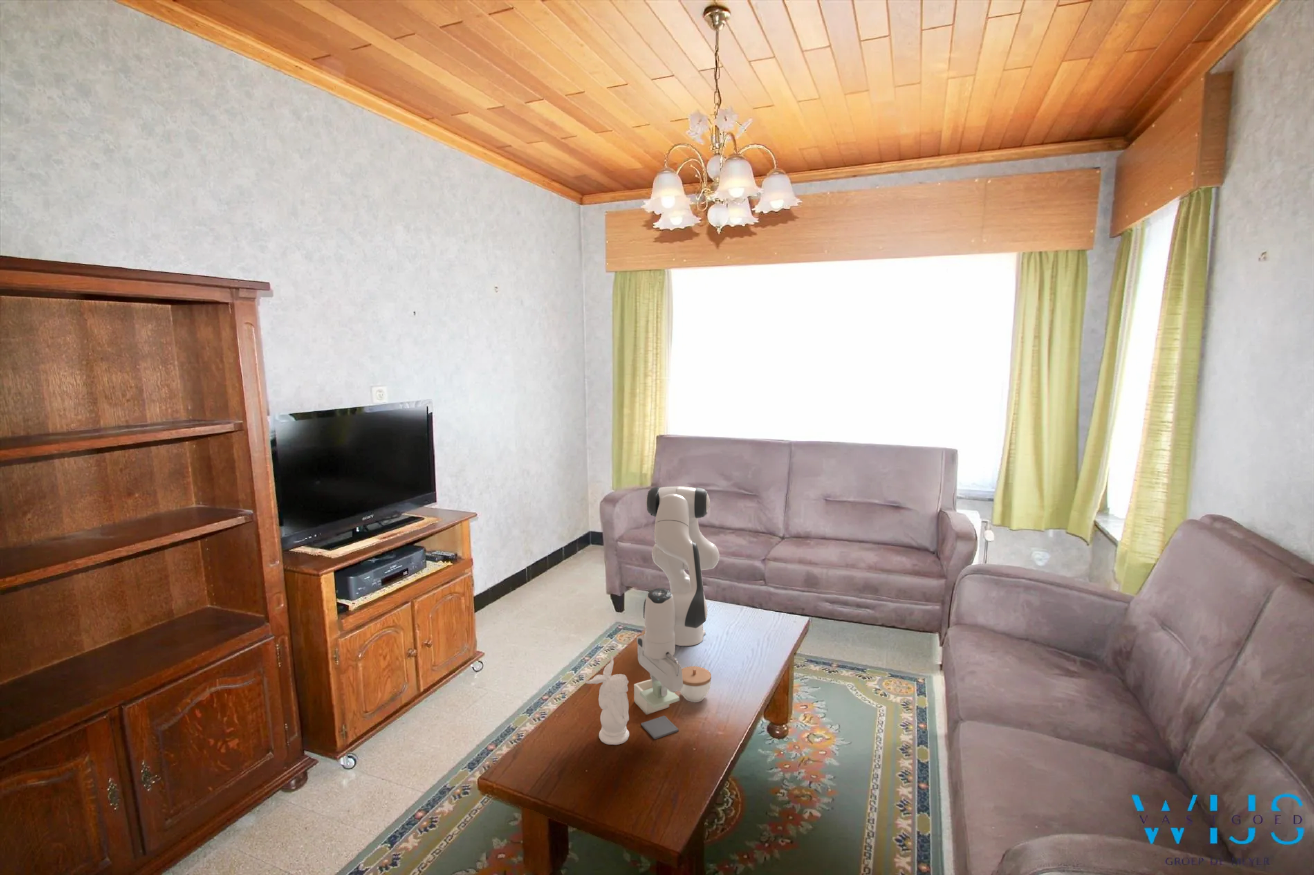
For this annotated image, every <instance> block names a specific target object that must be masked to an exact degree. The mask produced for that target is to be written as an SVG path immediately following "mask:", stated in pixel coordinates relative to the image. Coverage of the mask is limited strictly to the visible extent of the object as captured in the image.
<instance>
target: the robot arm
mask: <svg viewBox="0 0 1314 875" xmlns="http://www.w3.org/2000/svg"><path fill="white" fill-rule="evenodd" d="M710 506H711V499H710V496H709V493H708V491H707V490H706V489H705V488H702V487H698V486H697V487H691V486H683V485H678V486H663V487H662V486H655V487H651V488H650V490H649V491H647V495H646V498H645V507H646V510H647V513H648V514H649V515H650V516H652V517H654V518H655V521H654V522H655V523H654V531H653V532H654V533H653V536H654V542H655V543H654V545H653V547H652V549H651V557H652V561H653V563H654V564H655V565H656V566H658V568H660V569H661V570H662V572H663V573H664V574H665V576H666V578H667V580H668V584H669V588H670V590H669V589H667V588H665V587H664V588H663V587H659V588H658V587H657V588H653V589H651V590H650V591H649V592H648V593H647V595H646V598H645V599H644V602H643V619H644V626H645V631H644V632H645V633H644V634H643V635H639V636H637V637H636V644H637V661H638V663H639V665H640V666H641V667H642V668H643V669H645V671H647V672H648V673H649V677H650V679H651V680H652V687H653V682H655V681H659V682H660V683H661V686H662V688H661V689H660V695H661V696H666V695H667V690H669V691H671V692H674V693H675V692H676V693H677V692H680V690H681V689H682V687H683V678H682V666H681V664H680V662H678V659H677V658H676V656H675V657H674V655H675V653H676V646H679V647H680V646H681V647H688V646H689V647H690V646H696V645H698V644H700V643H702V642H703V640H704V636H705V635H706V630H705V629H704V623H705V622H706V621H707V617H708V603H707V600H706V597H705V593H704V592H705V591H704V583H703V582H704V581H703V575H702V574H703V573H702V571H706V570H712V569H715V567H717V565H718V563H719V562H720V552H719V549H718V547H717V546H716V544H715V543H713V542H712V541H710V540H709V539H707V538H706V537H705V536H704V535H703V533H702V532H701V530H700V525H699V519H701V518H704V517H705V516H707V514H708V512H709V510H710ZM685 570H688V572H686V571H685Z"/></svg>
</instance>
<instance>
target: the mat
mask: <svg viewBox="0 0 1314 875" xmlns="http://www.w3.org/2000/svg"><path fill="white" fill-rule="evenodd" d="M640 725H641V727H642V728H643V729H644V730H645V731H646V732H647V733H648V734H649V735H650V736H651V738H653V739H654V740H657V739H660V738H663V737H665V736H668V735H671V734H674V733H677V732H679V728H678V727H677V726H676V725H675V724H674V723H673V722H672V721H671V720H670V719H668V717H667V716H665V715H662V716H659V717H656V718H652V719H649V720H647V721H644V722H641V724H640Z"/></svg>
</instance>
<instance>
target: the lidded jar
mask: <svg viewBox="0 0 1314 875" xmlns="http://www.w3.org/2000/svg"><path fill="white" fill-rule="evenodd" d="M681 669H682V678H683V687H682V689H681V690H679V692H680V694H681V695H682V697H684V700H686V701H688V702H689V703H700V702H702V701H703V700H704V698H706V697H707V696H708V694H709V692H710V689H711V683H712V682H711V680H712V673H711V672H710V671H709V670H708V669H706V668H704V667H701V666H696V665H695V666H693V665H691V666H686V667H683V668H682V667H681Z"/></svg>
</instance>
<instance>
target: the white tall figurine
mask: <svg viewBox="0 0 1314 875" xmlns="http://www.w3.org/2000/svg"><path fill="white" fill-rule="evenodd" d="M614 663H615V662H614V656H613V655H610V662H609V663H608V664H606V666H605V667H604V669H603V672H602V674H596V675H595V676H594V677H593V678H591V679H589V680H585V681H584V683H585V684H589V685H590V684H591V685H593V684H594V685H598V684H600V683H602V684H601V685H600V686H599V692H598V694H599V695H598V705H599V707H600V709H602V710H601V713H600V720H599V721H600V724H601V729H600V731H599V733H598V738H599V739H600V741H601V743H603V744H606V745H612V746H613V745H614V746H617V745H620V744H624V743H626V742H627V741H628V739H629V737H630V731H629V730H628V729H627V725H628V722H629V721H630V714H629V703H630V702H629V699H628V694H627V692H628V691H629V686H628V684H629V680H628V677H627V675H625V674H624V673H623V674H622V673H619V674H618V673H617V674H613V675H612V672H613V668H614Z"/></svg>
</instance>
